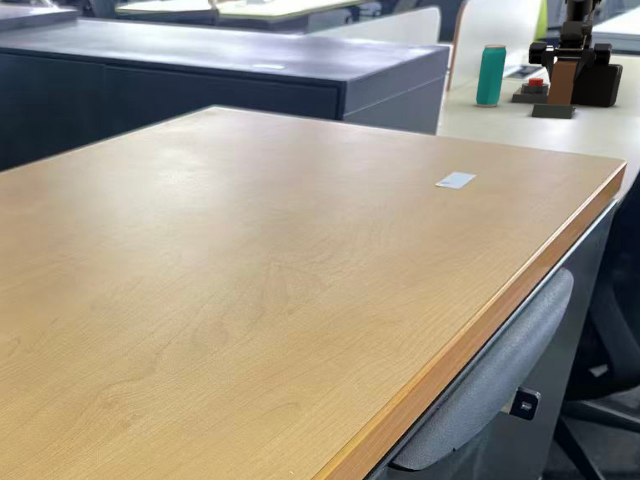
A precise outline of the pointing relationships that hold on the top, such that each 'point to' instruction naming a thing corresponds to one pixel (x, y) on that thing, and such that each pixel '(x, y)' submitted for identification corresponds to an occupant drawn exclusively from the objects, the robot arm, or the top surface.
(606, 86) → the electronic device
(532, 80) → the power button
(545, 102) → the power panel
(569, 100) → the brown box
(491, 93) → the beverage can
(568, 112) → the block
